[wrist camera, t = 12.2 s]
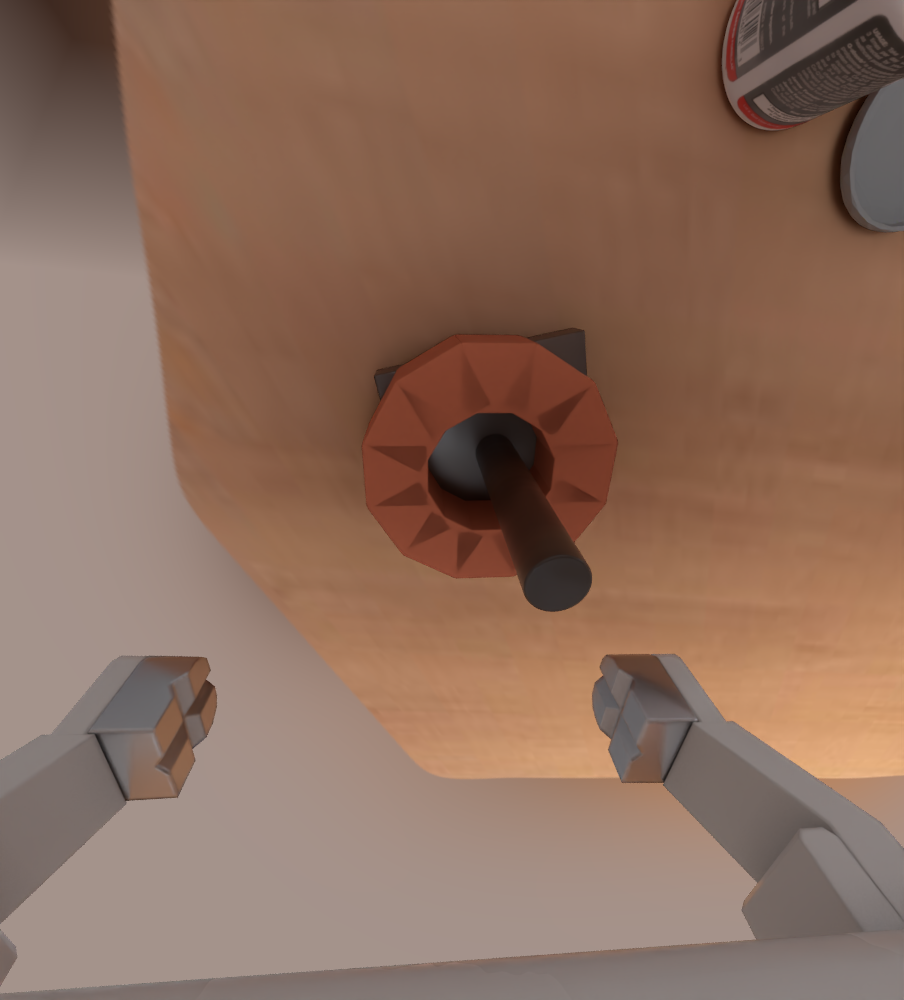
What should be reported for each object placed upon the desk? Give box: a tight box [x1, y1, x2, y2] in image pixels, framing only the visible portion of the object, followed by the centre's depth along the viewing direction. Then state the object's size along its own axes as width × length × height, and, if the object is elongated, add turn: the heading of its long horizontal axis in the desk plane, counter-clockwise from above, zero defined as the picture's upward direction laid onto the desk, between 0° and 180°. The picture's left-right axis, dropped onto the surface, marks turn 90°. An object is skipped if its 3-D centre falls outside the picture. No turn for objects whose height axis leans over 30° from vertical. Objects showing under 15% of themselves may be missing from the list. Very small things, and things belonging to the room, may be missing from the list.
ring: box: [362, 335, 618, 578], centre depth 20 cm, size 11×11×3 cm
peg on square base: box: [374, 328, 592, 612], centre depth 18 cm, size 10×10×12 cm
